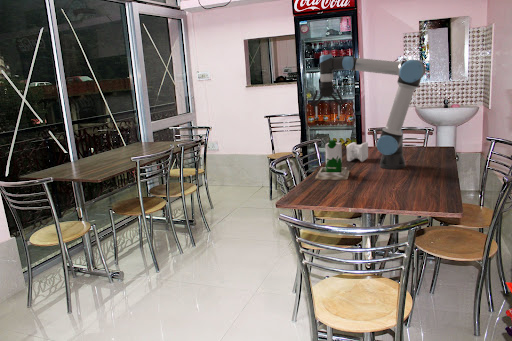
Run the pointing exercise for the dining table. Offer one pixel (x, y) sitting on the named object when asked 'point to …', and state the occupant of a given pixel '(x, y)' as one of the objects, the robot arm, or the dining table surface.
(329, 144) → the milk carton
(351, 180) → the dining table surface
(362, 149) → the cable organizer
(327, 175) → the tray
